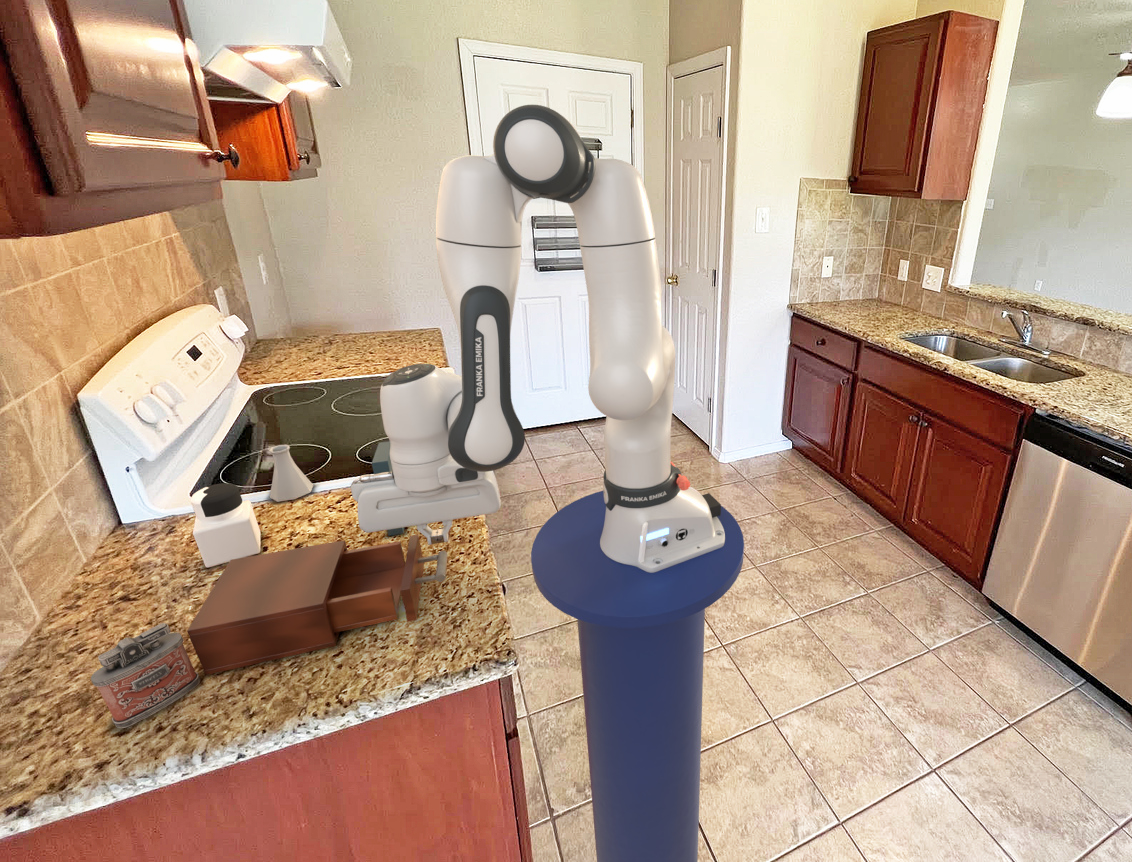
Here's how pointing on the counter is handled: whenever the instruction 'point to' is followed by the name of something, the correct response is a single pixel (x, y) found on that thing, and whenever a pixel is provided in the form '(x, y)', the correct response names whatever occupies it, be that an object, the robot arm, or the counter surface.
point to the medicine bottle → (224, 524)
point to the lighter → (144, 675)
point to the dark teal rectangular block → (382, 465)
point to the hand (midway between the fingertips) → (438, 541)
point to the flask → (287, 476)
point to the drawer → (379, 584)
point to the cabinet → (267, 608)
